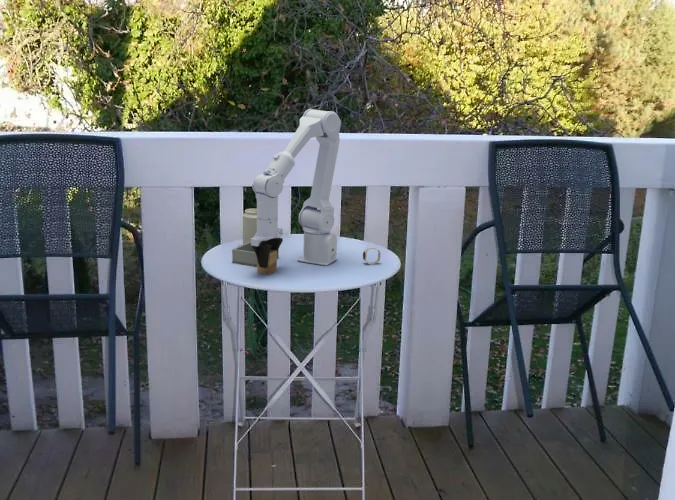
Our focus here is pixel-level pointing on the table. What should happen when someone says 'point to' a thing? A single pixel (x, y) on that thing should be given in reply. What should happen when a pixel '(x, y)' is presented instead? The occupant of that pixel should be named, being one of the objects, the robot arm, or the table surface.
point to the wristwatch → (366, 255)
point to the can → (249, 224)
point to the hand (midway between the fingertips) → (267, 265)
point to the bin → (245, 255)
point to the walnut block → (269, 264)
